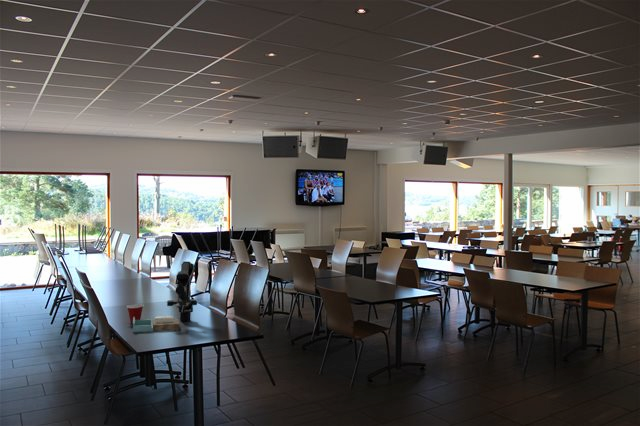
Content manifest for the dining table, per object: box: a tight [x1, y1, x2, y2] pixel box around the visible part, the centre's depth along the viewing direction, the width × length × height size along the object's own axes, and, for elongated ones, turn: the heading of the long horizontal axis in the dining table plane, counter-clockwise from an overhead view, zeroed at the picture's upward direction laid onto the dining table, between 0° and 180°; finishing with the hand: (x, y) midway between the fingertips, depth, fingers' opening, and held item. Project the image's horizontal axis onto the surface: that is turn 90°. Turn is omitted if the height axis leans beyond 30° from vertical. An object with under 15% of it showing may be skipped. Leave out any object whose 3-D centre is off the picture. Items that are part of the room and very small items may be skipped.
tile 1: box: [154, 315, 164, 323], centre depth 342 cm, size 5×5×3 cm
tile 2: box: [163, 315, 174, 323], centre depth 344 cm, size 5×5×3 cm
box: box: [132, 317, 154, 334], centre depth 339 cm, size 12×18×6 cm, turn 19°
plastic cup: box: [126, 303, 145, 325], centre depth 355 cm, size 11×11×12 cm
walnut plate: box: [151, 317, 180, 332], centre depth 344 cm, size 16×16×4 cm
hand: (181, 315), depth 347 cm, fingers closed
